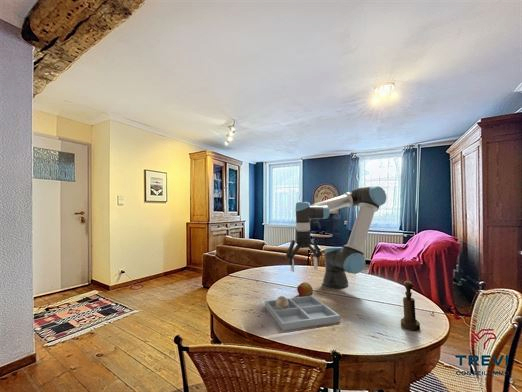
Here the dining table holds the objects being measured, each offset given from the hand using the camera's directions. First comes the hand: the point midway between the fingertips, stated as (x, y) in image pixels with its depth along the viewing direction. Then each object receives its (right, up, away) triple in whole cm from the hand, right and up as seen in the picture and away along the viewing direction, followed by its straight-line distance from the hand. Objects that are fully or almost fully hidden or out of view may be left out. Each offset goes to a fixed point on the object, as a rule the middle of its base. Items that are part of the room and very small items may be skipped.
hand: (304, 270), depth 134 cm
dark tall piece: (+36, -12, -36) cm, 52 cm away
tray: (-6, -13, -23) cm, 27 cm away
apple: (0, -15, -1) cm, 15 cm away
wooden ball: (-13, -13, -19) cm, 26 cm away
